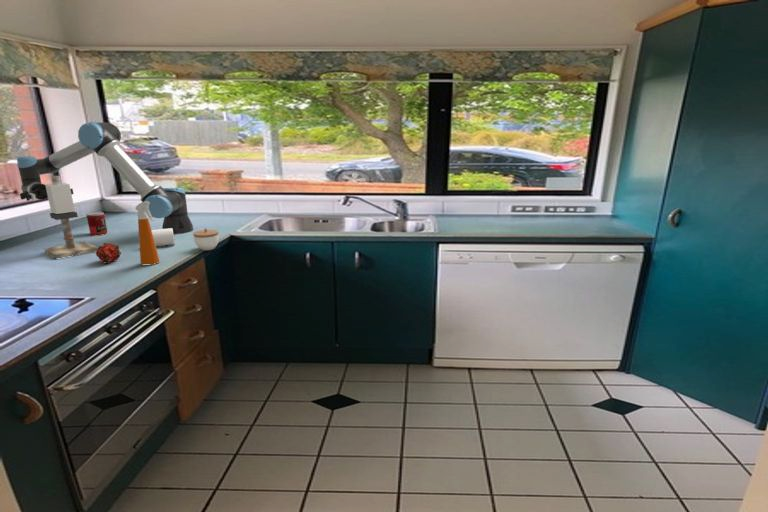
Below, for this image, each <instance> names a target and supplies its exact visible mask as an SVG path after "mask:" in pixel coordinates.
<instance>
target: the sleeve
mask: <svg viewBox="0 0 768 512" xmlns="http://www.w3.org/2000/svg"><path fill="white" fill-rule="evenodd" d="M61 184H62V185H53V183H49V184H44V185H45V186H46V191H47V195H48V198H47V199H48V203H49V207H50V213H55V214H60V213H68V212H76V209H75V204H74V201H73V194H71V190H70V189H71V186H70V184H69V183H68V182H67V183H66V182H61Z"/></svg>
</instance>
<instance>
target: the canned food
mask: <svg viewBox="0 0 768 512" xmlns="http://www.w3.org/2000/svg"><path fill="white" fill-rule="evenodd" d="M105 218H106V216H105V213H104V211H93V212H88V213H86V220H87V225H88V229H89V230H88V231H89V234H90V235H91V236H93V235H98V236H103V235H102V234H104V235H106V233H107V234H108V229H107V222H106V219H105Z"/></svg>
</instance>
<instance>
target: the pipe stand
mask: <svg viewBox="0 0 768 512" xmlns="http://www.w3.org/2000/svg"><path fill="white" fill-rule="evenodd" d="M51 183H52V184H53V185H62V184H61V183H62V180H61V176H60V175H52V176H51ZM60 214H64V213H60ZM60 222H61V228H62V233H63V236H64V237H63V239H64V241H65V244H62V245H57V246H51V247H46V248H44V252H46V253H45V254H47V253H48V254H49V255H48V254H47V255H48V256H50V255H51V256H50V257H52V256H53V257H55V258H62V257H67V258H69V257H68V256H72V255H77V256H80V255H79V254H82V255H84V254H83V253H87V254H90V253H89V252H92V253H95V252H94V251H97V249H98V247H97V246H96V245H94V244H92V243H90V242H87V241H80V242H75V239H74V236H73V233H72V232H73V231H72V228H71V224H70V223H71V222H70V218H67V219H60ZM53 257H52V258H53ZM72 257H73V256H72ZM55 258H54V259H55ZM62 259H63V258H62Z"/></svg>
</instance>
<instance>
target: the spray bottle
mask: <svg viewBox="0 0 768 512" xmlns="http://www.w3.org/2000/svg"><path fill="white" fill-rule="evenodd" d="M149 204H150V203H149V202H148V201H144V202H142V201H141V202H140V203H138V204H137V205H136V207H135V210H136V211H137V219H138V220H137V221H138V222H137V223H138V225H137V226H138V243H139V259H140V265H141V264H154V263H157V262H159V261H160V257H159V254H158V250H157V247H156V246H155V242H154V238H153V235H152V231H151V230H152V227H151V224H150V220H151V222H154V221H155V218H154V217H152V215H151V213H150V211H149ZM149 219H150V220H149ZM159 263H160V262H159Z"/></svg>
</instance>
